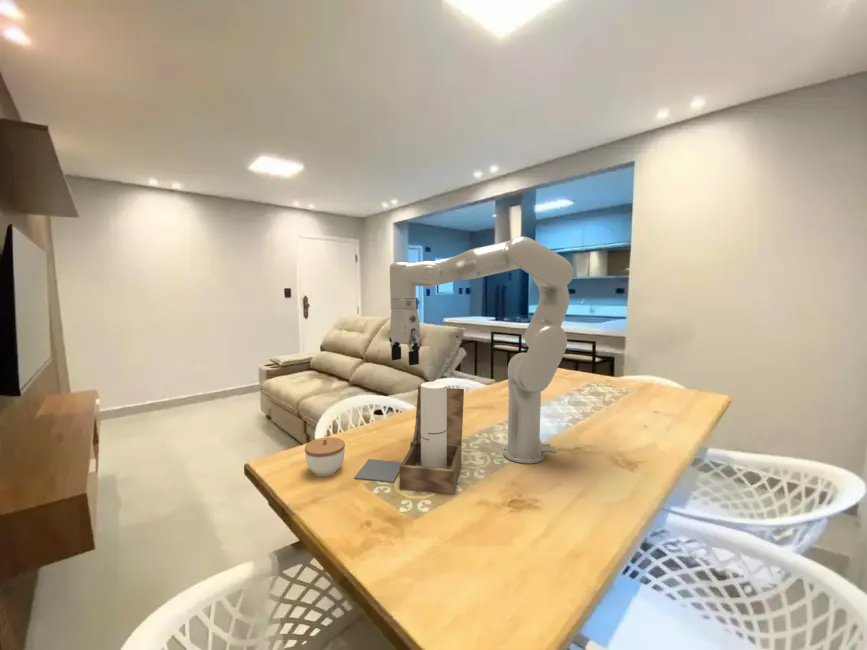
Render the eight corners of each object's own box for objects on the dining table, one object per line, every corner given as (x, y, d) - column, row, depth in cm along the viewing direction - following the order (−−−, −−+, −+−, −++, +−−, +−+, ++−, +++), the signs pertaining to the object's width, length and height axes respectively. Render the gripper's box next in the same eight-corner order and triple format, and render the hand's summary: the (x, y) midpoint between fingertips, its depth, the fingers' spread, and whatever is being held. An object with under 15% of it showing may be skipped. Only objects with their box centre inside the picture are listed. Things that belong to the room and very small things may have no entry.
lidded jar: (304, 466, 107) (303, 435, 106) (341, 459, 112) (341, 429, 111) (307, 484, 98) (306, 450, 97) (348, 476, 102) (347, 443, 101)
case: (463, 455, 114) (464, 388, 112) (453, 494, 93) (454, 412, 91) (418, 451, 117) (417, 385, 115) (398, 488, 95) (397, 408, 93)
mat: (404, 463, 109) (404, 462, 109) (393, 482, 98) (393, 481, 98) (368, 460, 111) (368, 459, 111) (354, 478, 100) (354, 477, 100)
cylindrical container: (444, 480, 100) (444, 389, 97) (418, 477, 101) (417, 387, 99) (448, 467, 107) (448, 382, 104) (424, 465, 108) (423, 380, 105)
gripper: (431, 305, 105) (432, 364, 106) (399, 303, 118) (400, 356, 120) (408, 306, 100) (410, 368, 102) (378, 304, 114) (379, 359, 116)
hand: (404, 362), depth 111 cm, fingers open, 9 cm apart
